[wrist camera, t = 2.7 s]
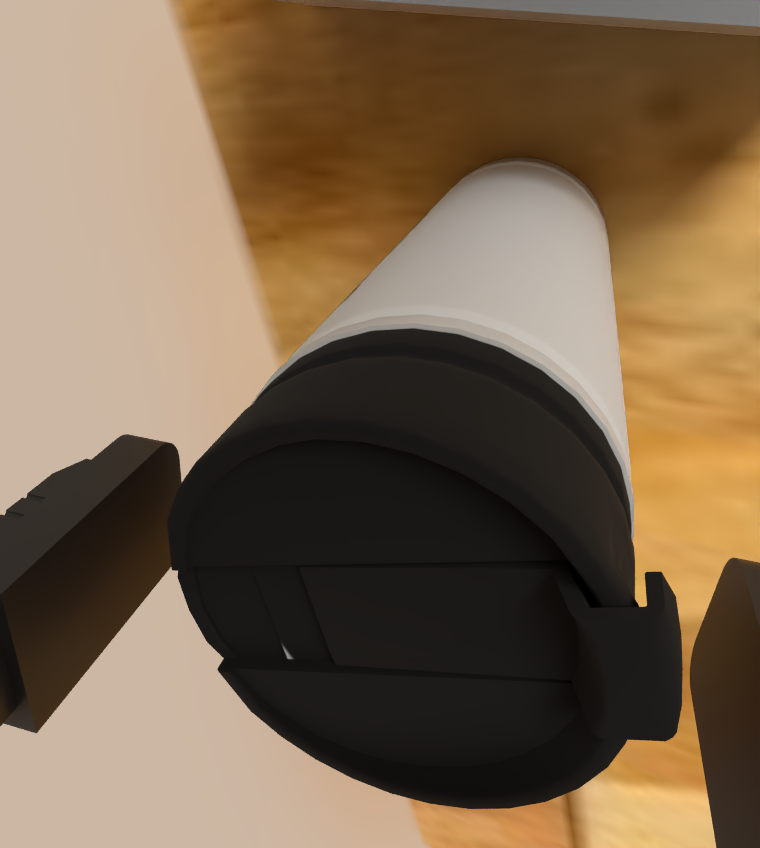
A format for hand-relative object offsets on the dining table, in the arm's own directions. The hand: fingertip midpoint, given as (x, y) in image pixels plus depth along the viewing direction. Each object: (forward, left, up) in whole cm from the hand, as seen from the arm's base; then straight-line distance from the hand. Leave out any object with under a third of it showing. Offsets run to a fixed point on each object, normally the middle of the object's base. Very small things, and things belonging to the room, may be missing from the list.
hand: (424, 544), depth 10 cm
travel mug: (0, 0, -18) cm, 18 cm away
